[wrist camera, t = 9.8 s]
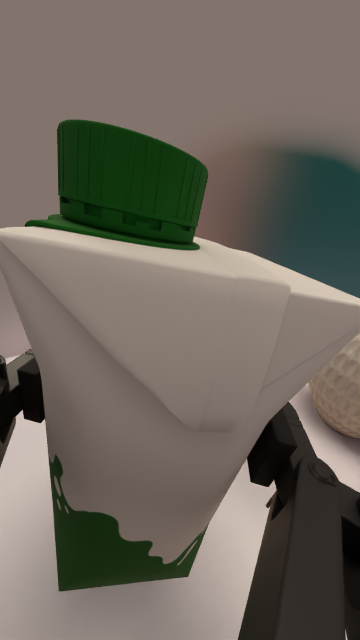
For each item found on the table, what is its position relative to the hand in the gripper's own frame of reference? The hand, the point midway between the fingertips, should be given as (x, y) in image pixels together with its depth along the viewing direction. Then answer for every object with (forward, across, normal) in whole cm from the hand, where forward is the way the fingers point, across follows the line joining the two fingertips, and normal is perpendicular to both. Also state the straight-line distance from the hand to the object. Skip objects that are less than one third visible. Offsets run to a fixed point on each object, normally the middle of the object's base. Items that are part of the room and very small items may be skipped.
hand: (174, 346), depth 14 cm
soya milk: (-4, 0, -11) cm, 12 cm away
